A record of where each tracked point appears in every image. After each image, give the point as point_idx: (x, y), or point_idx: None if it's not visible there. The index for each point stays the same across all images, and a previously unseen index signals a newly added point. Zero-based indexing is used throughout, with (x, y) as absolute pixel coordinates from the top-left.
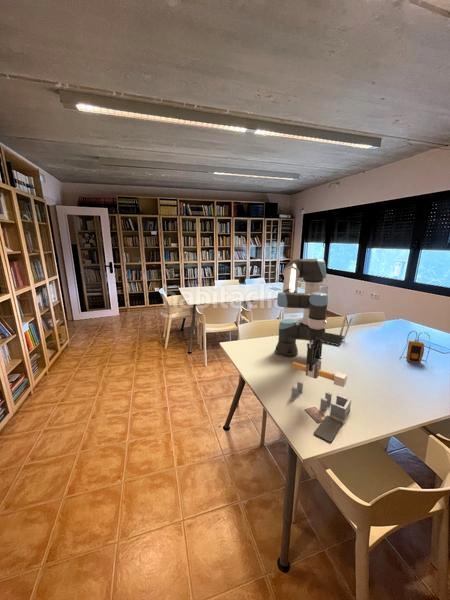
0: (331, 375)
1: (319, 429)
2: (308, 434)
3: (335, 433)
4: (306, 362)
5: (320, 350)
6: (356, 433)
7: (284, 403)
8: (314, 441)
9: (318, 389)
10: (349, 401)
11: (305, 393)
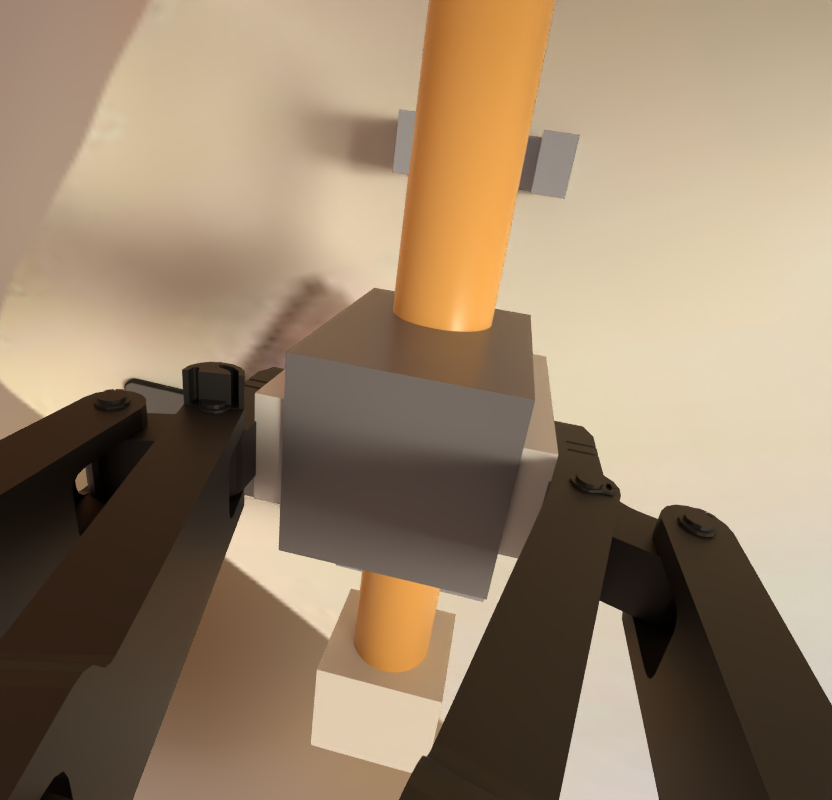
0: (364, 624)
1: (175, 406)
2: (113, 354)
3: None
4: (82, 401)
5: (655, 752)
6: (285, 565)
7: (290, 100)
8: (92, 391)
9: (674, 326)
10: (447, 590)
11: (544, 230)
